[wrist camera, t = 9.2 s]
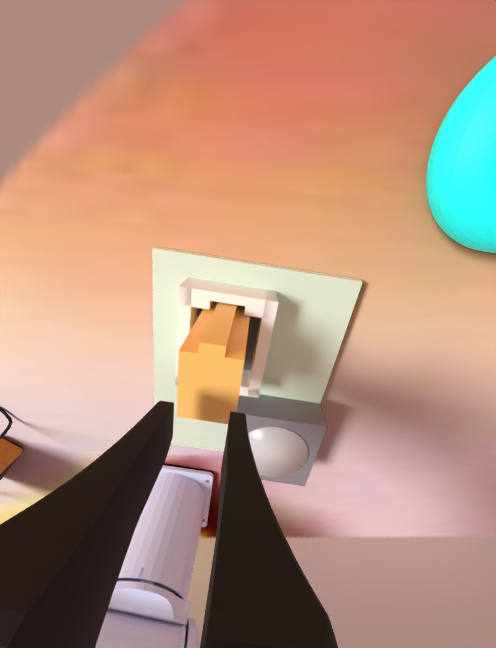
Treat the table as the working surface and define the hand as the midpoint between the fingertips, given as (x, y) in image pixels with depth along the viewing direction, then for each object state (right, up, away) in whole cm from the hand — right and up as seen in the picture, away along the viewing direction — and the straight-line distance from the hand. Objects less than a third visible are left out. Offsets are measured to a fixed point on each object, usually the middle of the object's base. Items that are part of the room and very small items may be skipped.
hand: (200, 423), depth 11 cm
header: (+1, +4, +9) cm, 9 cm away
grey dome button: (+4, -4, +12) cm, 14 cm away
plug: (+1, +4, +7) cm, 9 cm away
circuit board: (+2, +1, +10) cm, 10 cm away
